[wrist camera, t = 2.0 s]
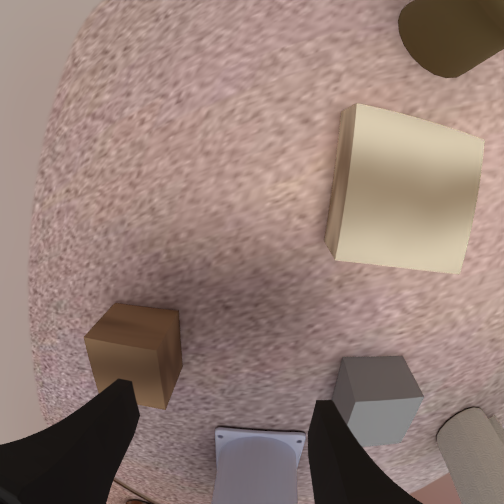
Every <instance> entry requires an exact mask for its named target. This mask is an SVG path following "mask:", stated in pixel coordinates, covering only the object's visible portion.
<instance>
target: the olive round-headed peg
mask: <svg viewBox="0 0 504 504" xmlns="http://www.w3.org/2000/svg"><path fill="white" fill-rule="evenodd" d="M398 24H399V33H400V36H401V38H402V41H403V44H404V46H405V47H406V49H407V50H408V52H409V53H410V55H411V56H412V57H413V58H414V59H415V60H416V61H417V62H418V63H419V64H420V65H421V66H422V67H423V68H425V69H426V70H428V71H430V72H431V73H433V74H434V75H438V76H441V77H445V78H454V77H458V76H460V75H462V74H464V73H466V72H467V71H469V70H470V69H472V68H474V67H475V66H477V65H478V64H480V63H482V62H483V61H485V60H486V59H488V58H490V57H491V56H493V55H495V54H496V53H498V52H499V51H501V50H503V49H504V0H414V1H412V2H411V3H409V4H407V5H406V6H405V7H404V9H403V10H402V11H401V13H400V16H399V20H398Z"/></svg>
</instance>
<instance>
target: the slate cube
mask: <svg viewBox="0 0 504 504" xmlns="http://www.w3.org/2000/svg"><path fill="white" fill-rule="evenodd" d="M423 398H424V396H423V394H422V392H421V390H420V388H419V386H418V384H417V382H416V380H415V378H414V376H413V374H412V373H411V371H410V369H409V367H408V365H407V363H406V361H405V359H404V358H403V356H384V357H343V358H342V362H341V366H340V370H339V374H338V378H337V382H336V386H335V389H334V393H333V397H332V401H333V402H334V403H335V405H336V407H337V409H338V411H339V412H340V414H341V416H342V418H343V419H344V421H345V423H346V424H347V426H348V427H349V429H350V430H351V432H352V433H353V435H354V436H355V438H356V439H357V441H358V442H359V444H360V445H361V446H362V447H367V446H378V445H387V444H396V443H401V441H402V439H403V437H404V436H405V434H406V432H407V430H408V428H409V426H410V424H411V422H412V420H413V418H414V417H415V415H416V413H417V411H418V408H419V406H420V404H421V402H422V400H423Z"/></svg>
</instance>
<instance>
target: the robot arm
mask: <svg viewBox="0 0 504 504" xmlns="http://www.w3.org/2000/svg"><path fill="white" fill-rule="evenodd" d="M139 417H140V413H139V410H138V405H137V401H136V397H135V393H134V388H133V384H132V381H129V380H124V379H119V378H118V379H117V380H116V381H114V382H113V383H112V384H111V385H109V386H108V387H107V388H106V389H104V390H103V391H102V392H101V393H99V394H98V395H97V396H95V397H94V398H93V399H92V400H90V401H89V402H88V403H86V404H85V405H84V406H82V407H81V408H80V409H78V410H77V411H75V412H74V413H72V414H71V415H69V416H68V417H66V418H65V419H63V420H61V421H60V422H58V423H56V424H54V425H52V426H50V427H49V428H47V429H45V430H43V431H40V432H38V433H36V434H33V435H31V436H28V437H26V438H23V439H20V440H17V441H13V442H10V443H6V444H2V445H0V504H106V502H107V498H108V495H109V492H110V488H111V485H112V482H113V479H114V477H115V474H116V472H117V470H118V468H119V466H120V464H121V462H122V460H123V457H124V455H125V453H126V451H127V449H128V447H129V445H130V442H131V440H132V438H133V436H134V433H135V430H136V427H137V423H138V420H139ZM305 439H306V435H305V433H302V432H275V431H257V430H244V429H233V428H223V427H218V428H216V430H215V445H216V465H217V474H216V480H215V485H214V491H213V497H212V502H211V504H298V497H297V467H298V463H299V460H300V457H301V453H302V450H303V446H304V442H305ZM308 457H309V464H310V471H311V478H312V485H313V492H314V500H315V504H422V503H421V502H419V501H417V500H416V499H415V498H413V497H412V496H411V495H409V494H408V493H407V492H406V491H404V490H403V489H402V488H401V487H399V486H398V485H397V484H396V483H394V482H393V481H392V480H391V479H390V478H389V477H388V476H387V475H386V474H385V473H384V472H383V471H382V470H381V469H380V468H379V467H378V466H377V465H376V464H375V462H374V461H373V460H372V459H371V458H370V456H369V455H368V454H367V453H366V451H365V450H364V449H363V448H362V446H361V445H360V444H359V442H358V441H357V439H356V438H355V436H354V435H353V433H352V432H351V430H350V429H349V427H348V426H347V424H346V423H345V421H344V419H343V418H342V416H341V414H340V412H339V411H338V409H337V407H336V405H335V403H334V402H333V401H332V400H316V404H315V408H314V412H313V416H312V420H311V424H310V427H309V431H308Z"/></svg>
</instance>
